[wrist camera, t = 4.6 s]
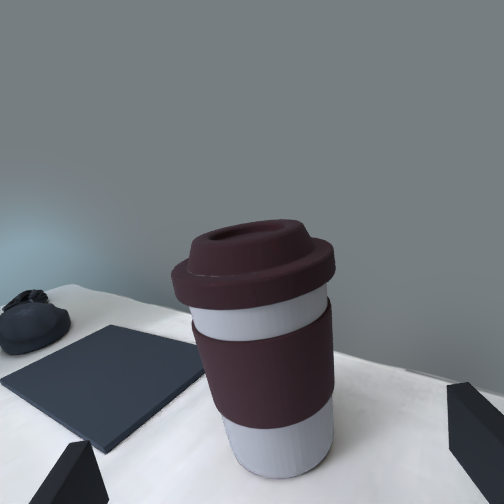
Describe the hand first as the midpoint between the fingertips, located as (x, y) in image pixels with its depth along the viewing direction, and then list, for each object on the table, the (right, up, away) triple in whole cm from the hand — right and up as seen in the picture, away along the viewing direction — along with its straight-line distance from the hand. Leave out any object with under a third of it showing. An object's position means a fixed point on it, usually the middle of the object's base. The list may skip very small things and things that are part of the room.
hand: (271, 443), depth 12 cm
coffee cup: (+1, -6, +11) cm, 13 cm away
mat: (-16, -6, +24) cm, 30 cm away
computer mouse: (-38, -5, +45) cm, 59 cm away
